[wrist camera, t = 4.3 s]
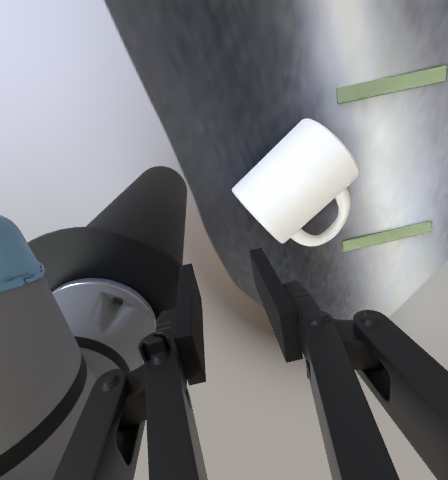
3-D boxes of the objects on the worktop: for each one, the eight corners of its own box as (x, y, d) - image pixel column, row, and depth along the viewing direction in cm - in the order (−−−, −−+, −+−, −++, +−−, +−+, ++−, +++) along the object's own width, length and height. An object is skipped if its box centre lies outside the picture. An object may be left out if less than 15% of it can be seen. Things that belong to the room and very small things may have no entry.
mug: (226, 183, 33) (237, 200, 25) (292, 118, 31) (324, 115, 23) (290, 249, 37) (315, 279, 29) (352, 194, 35) (395, 213, 27)
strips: (342, 251, 38) (343, 252, 37) (337, 88, 30) (338, 88, 30) (429, 231, 38) (430, 232, 38) (444, 65, 30) (447, 65, 30)
